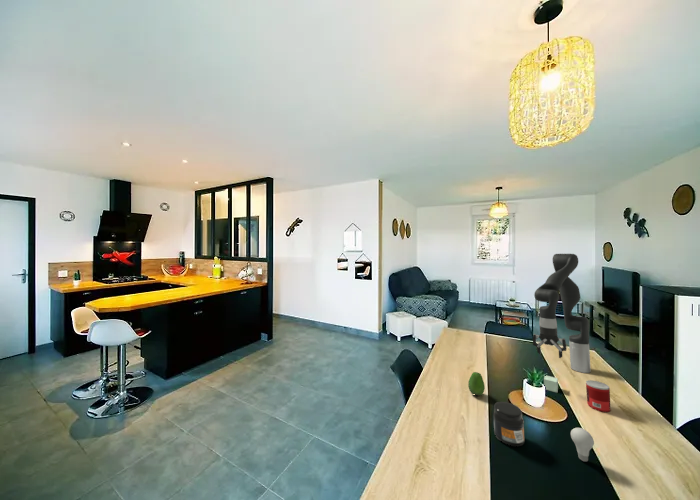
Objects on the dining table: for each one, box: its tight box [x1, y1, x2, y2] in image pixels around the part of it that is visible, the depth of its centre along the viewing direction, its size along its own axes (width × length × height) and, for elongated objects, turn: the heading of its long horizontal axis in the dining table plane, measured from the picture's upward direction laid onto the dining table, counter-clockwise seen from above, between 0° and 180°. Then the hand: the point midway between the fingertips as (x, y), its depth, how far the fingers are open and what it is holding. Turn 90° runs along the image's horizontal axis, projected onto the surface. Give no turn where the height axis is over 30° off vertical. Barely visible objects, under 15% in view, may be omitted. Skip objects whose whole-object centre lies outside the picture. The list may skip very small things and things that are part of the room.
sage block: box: [543, 375, 559, 394], centre depth 135 cm, size 6×6×6 cm
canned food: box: [585, 379, 612, 413], centre depth 118 cm, size 8×8×11 cm
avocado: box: [467, 371, 485, 396], centre depth 132 cm, size 8×8×12 cm
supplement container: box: [492, 401, 526, 447], centre depth 101 cm, size 10×10×12 cm
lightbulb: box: [570, 427, 595, 462], centre depth 89 cm, size 6×6×11 cm
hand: (549, 355), depth 135 cm, fingers open, 8 cm apart
